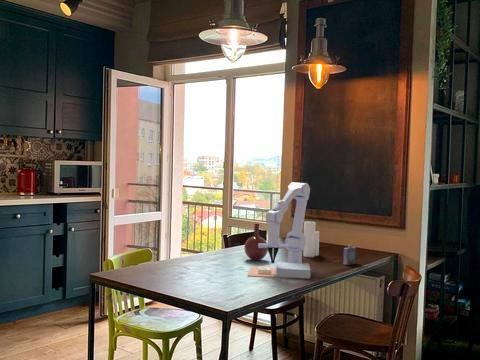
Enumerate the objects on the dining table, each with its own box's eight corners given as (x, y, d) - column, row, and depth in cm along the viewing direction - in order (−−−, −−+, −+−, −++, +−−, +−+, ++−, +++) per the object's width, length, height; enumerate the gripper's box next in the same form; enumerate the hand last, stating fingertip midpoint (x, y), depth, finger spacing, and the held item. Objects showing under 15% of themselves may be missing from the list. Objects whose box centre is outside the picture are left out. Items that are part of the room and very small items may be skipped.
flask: (345, 265, 258) (346, 245, 258) (341, 264, 260) (342, 244, 260) (356, 263, 264) (357, 244, 264) (352, 262, 266) (352, 243, 266)
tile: (271, 266, 239) (270, 270, 239) (258, 265, 239) (258, 269, 239) (270, 270, 231) (270, 274, 231) (258, 269, 231) (257, 273, 232)
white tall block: (311, 257, 277) (312, 223, 276) (300, 256, 281) (301, 222, 280) (319, 254, 287) (321, 221, 286) (308, 253, 291) (310, 220, 290)
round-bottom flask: (252, 256, 275) (253, 222, 274) (272, 259, 268) (273, 224, 267) (239, 260, 264) (240, 224, 263) (259, 263, 257) (260, 226, 256)
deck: (276, 269, 242) (277, 262, 242) (308, 271, 241) (309, 263, 241) (276, 276, 227) (276, 268, 227) (310, 278, 226) (310, 270, 226)
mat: (250, 268, 245) (250, 267, 245) (275, 269, 244) (275, 268, 244) (247, 276, 227) (247, 275, 227) (275, 277, 226) (275, 276, 226)
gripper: (258, 236, 231) (257, 264, 232) (288, 237, 230) (287, 265, 230) (259, 233, 238) (258, 261, 239) (288, 235, 237) (287, 262, 237)
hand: (272, 263), depth 235 cm, fingers closed
